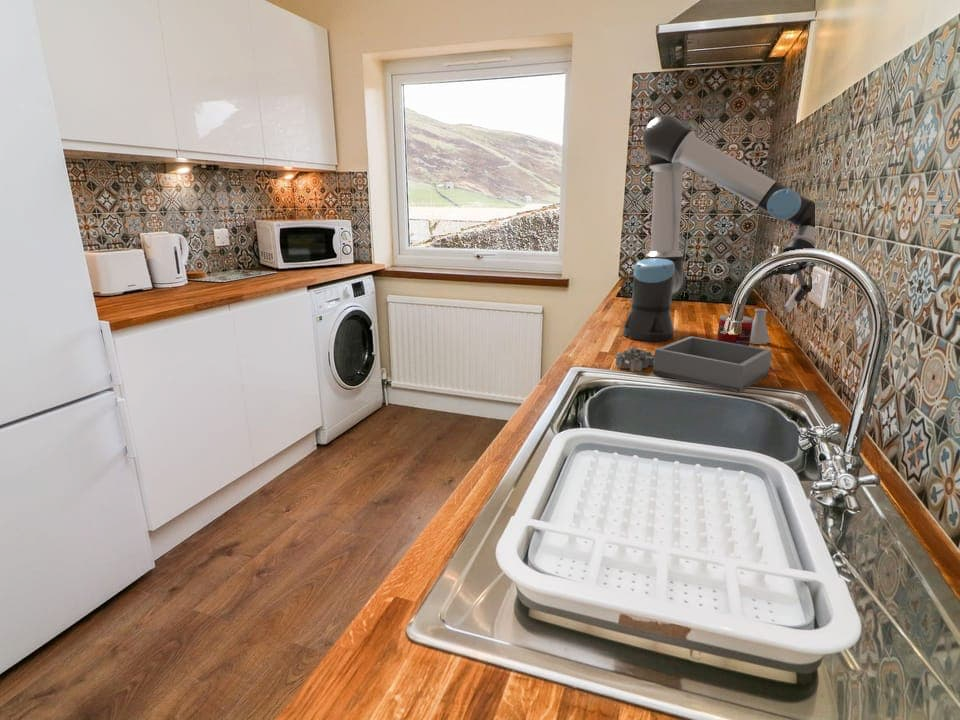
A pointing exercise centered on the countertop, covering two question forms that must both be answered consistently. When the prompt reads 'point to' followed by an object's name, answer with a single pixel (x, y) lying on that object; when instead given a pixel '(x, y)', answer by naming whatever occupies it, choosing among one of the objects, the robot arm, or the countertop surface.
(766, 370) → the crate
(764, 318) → the flask
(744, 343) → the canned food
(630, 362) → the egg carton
